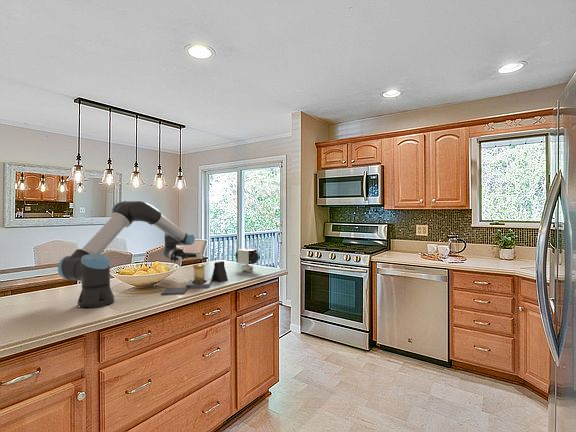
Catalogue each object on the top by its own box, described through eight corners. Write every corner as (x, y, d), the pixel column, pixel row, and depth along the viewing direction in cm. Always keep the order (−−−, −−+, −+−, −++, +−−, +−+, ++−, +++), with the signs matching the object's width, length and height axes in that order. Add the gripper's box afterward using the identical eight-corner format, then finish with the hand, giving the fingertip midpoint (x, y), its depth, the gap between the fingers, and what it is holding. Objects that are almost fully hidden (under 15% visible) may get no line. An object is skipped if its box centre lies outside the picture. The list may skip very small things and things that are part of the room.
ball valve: (260, 272, 228) (260, 247, 228) (251, 273, 222) (251, 248, 222) (243, 269, 240) (243, 245, 240) (235, 270, 234) (234, 246, 233)
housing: (209, 287, 183) (209, 284, 183) (185, 288, 182) (185, 285, 182) (211, 282, 197) (211, 278, 197) (190, 282, 196) (190, 279, 195)
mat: (184, 294, 169) (184, 292, 169) (161, 295, 168) (161, 293, 168) (188, 288, 181) (188, 287, 181) (166, 289, 180) (166, 288, 180)
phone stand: (228, 280, 202) (227, 261, 202) (221, 282, 197) (220, 263, 197) (218, 278, 207) (217, 260, 207) (211, 280, 202) (210, 261, 202)
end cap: (204, 286, 187) (204, 266, 186) (192, 286, 186) (192, 266, 185) (205, 283, 193) (205, 264, 193) (194, 284, 192) (194, 264, 192)
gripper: (194, 258, 221) (209, 261, 205) (158, 262, 203) (172, 267, 188) (194, 247, 220) (209, 250, 205) (158, 251, 203) (172, 254, 188)
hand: (191, 258), depth 197 cm, fingers open, 13 cm apart
